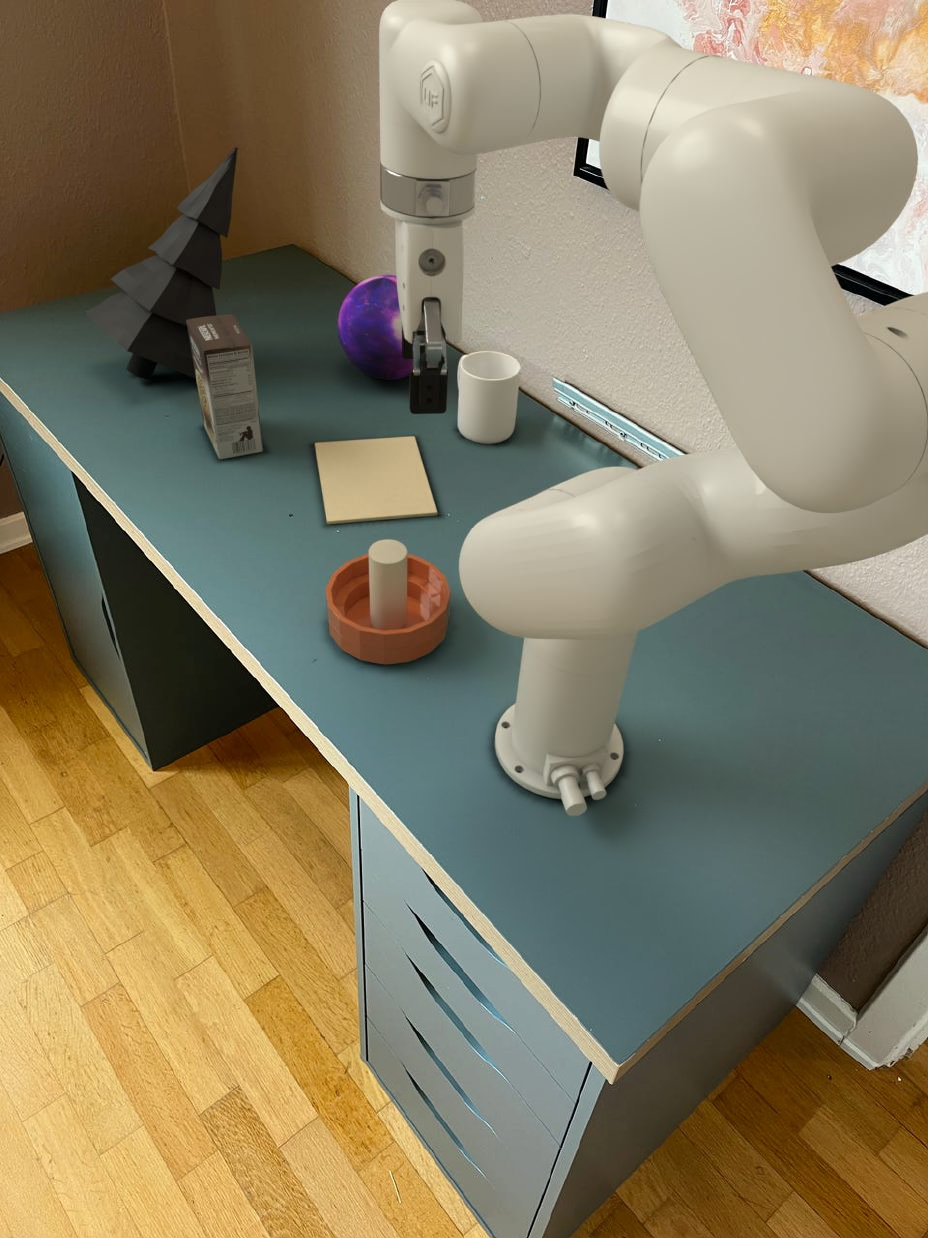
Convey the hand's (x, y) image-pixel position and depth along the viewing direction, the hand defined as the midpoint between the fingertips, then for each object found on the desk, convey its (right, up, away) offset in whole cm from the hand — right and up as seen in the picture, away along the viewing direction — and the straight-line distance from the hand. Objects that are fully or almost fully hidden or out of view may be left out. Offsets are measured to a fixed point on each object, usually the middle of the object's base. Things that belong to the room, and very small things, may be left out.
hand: (423, 383), depth 84 cm
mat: (-8, -3, +38) cm, 39 cm away
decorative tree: (-39, +18, +58) cm, 72 cm away
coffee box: (-28, +3, +44) cm, 52 cm away
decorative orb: (-8, +17, +59) cm, 62 cm away
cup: (+6, +7, +50) cm, 51 cm away
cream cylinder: (-5, -22, +18) cm, 29 cm away
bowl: (-5, -22, +18) cm, 29 cm away
